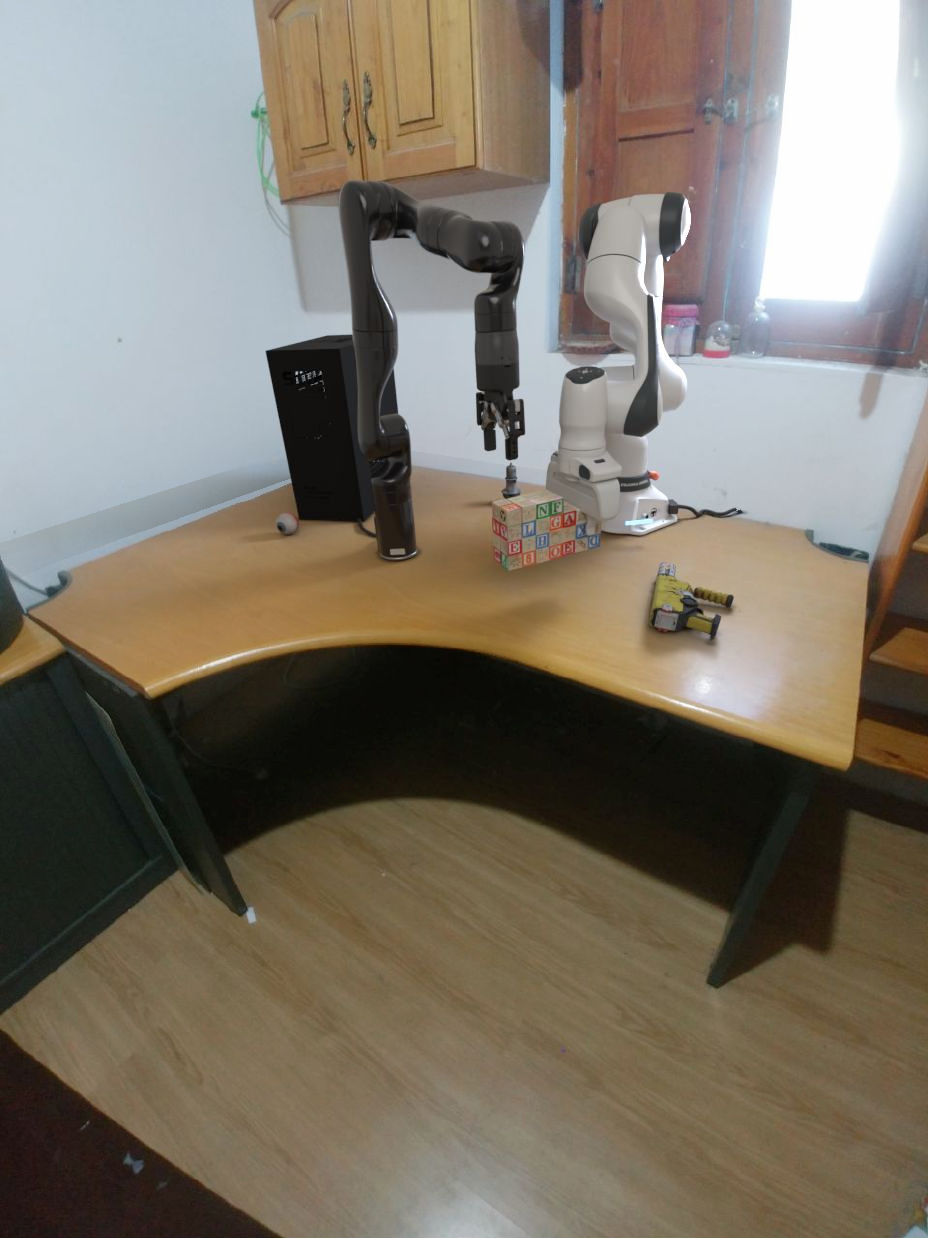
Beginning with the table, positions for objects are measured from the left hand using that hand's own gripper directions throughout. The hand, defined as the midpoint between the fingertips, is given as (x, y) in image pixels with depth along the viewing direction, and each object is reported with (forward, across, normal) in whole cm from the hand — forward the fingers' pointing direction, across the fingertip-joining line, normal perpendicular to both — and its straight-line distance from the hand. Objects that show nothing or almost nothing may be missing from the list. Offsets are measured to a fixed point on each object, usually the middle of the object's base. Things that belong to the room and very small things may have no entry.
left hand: (500, 454), depth 111 cm
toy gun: (+31, +21, +30) cm, 48 cm away
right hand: (+17, +3, +15) cm, 23 cm away
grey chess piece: (+29, -53, +30) cm, 67 cm away
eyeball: (+28, -64, -33) cm, 77 cm away
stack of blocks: (+21, +3, +8) cm, 22 cm away
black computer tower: (+28, -83, -9) cm, 88 cm away
